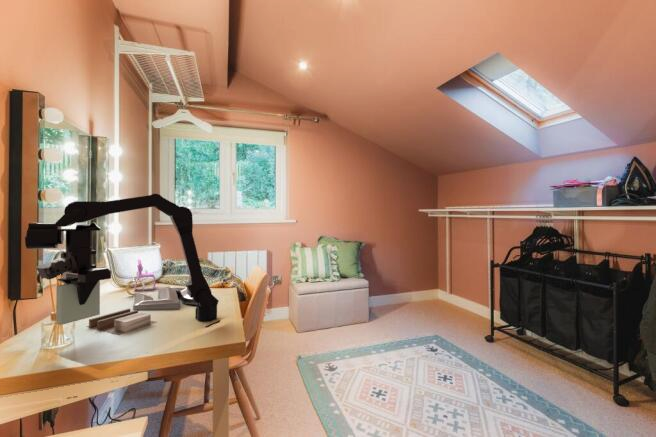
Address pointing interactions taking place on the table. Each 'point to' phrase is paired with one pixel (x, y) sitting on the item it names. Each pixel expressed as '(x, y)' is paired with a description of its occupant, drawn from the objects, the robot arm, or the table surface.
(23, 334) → the table surface
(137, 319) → the offcut upper
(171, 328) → the table surface
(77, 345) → the table surface
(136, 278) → the bracelet
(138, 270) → the toy chair
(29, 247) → the robot arm
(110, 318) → the rack
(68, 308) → the green panel
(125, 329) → the offcut lower
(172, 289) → the emblem
